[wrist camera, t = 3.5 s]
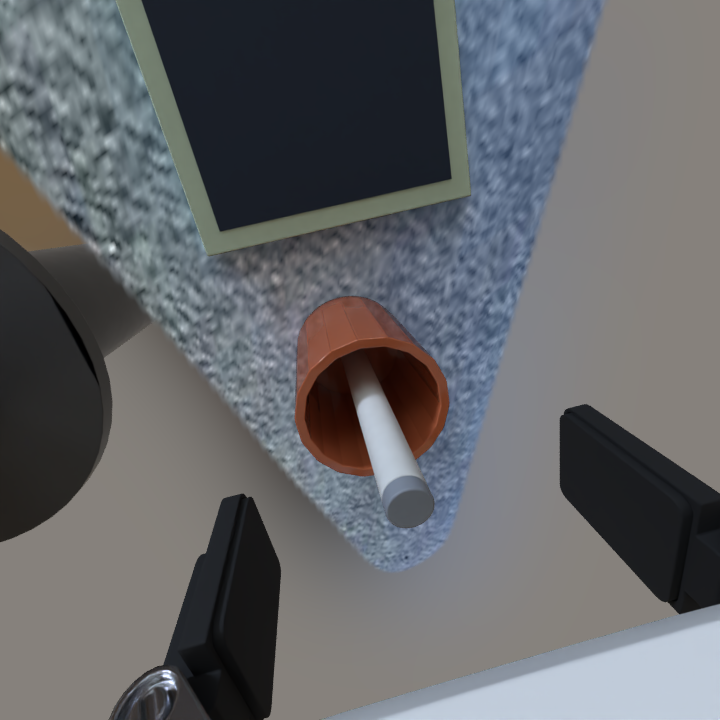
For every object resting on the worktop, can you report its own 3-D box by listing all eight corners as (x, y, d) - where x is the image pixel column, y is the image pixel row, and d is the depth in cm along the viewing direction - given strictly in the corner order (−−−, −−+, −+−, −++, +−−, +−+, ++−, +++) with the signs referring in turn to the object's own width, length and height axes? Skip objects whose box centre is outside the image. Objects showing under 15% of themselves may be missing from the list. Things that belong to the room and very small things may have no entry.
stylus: (342, 364, 22) (390, 534, 10) (337, 342, 22) (381, 497, 10) (365, 358, 23) (438, 521, 11) (360, 336, 22) (431, 483, 10)
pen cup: (312, 406, 24) (318, 493, 16) (283, 310, 21) (275, 360, 14) (409, 381, 24) (456, 454, 17) (391, 283, 22) (438, 319, 14)
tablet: (211, 254, 20) (206, 256, 19) (23, -275, 13) (0, -317, 12) (463, 196, 20) (472, 195, 19) (415, -332, 14) (424, -375, 13)
